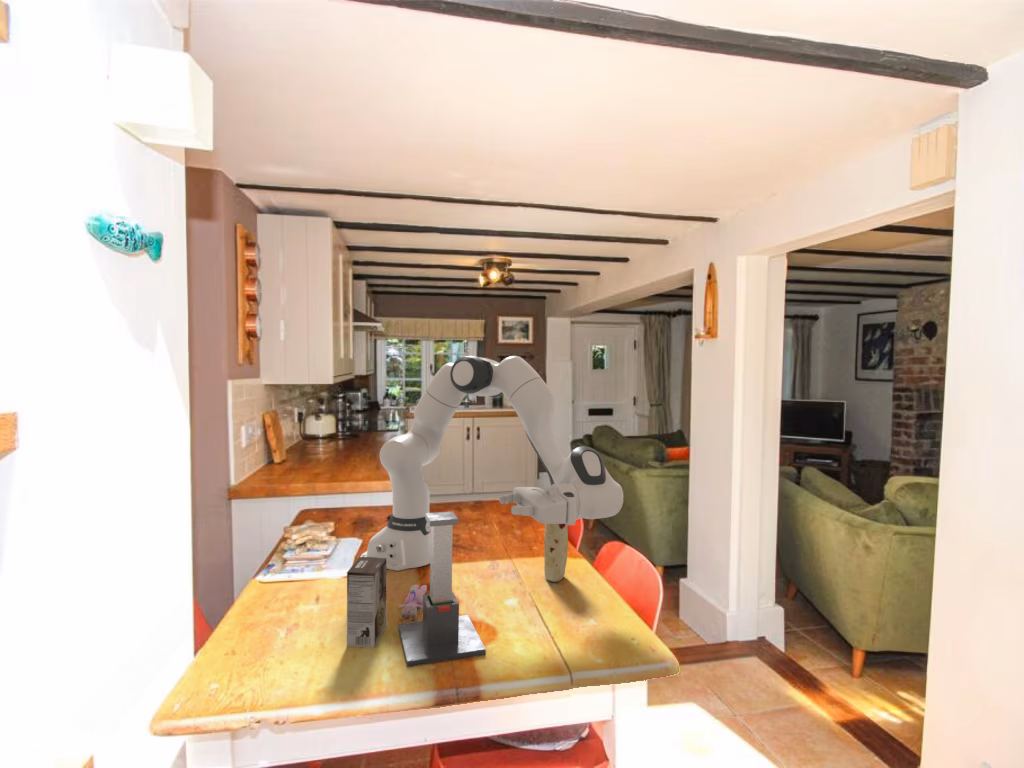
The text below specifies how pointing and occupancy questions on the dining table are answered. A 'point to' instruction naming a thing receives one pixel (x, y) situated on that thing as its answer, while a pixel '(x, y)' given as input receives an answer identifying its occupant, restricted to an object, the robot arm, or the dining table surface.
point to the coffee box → (366, 602)
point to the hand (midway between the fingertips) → (505, 504)
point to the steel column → (441, 556)
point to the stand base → (439, 635)
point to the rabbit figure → (413, 602)
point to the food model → (555, 551)
